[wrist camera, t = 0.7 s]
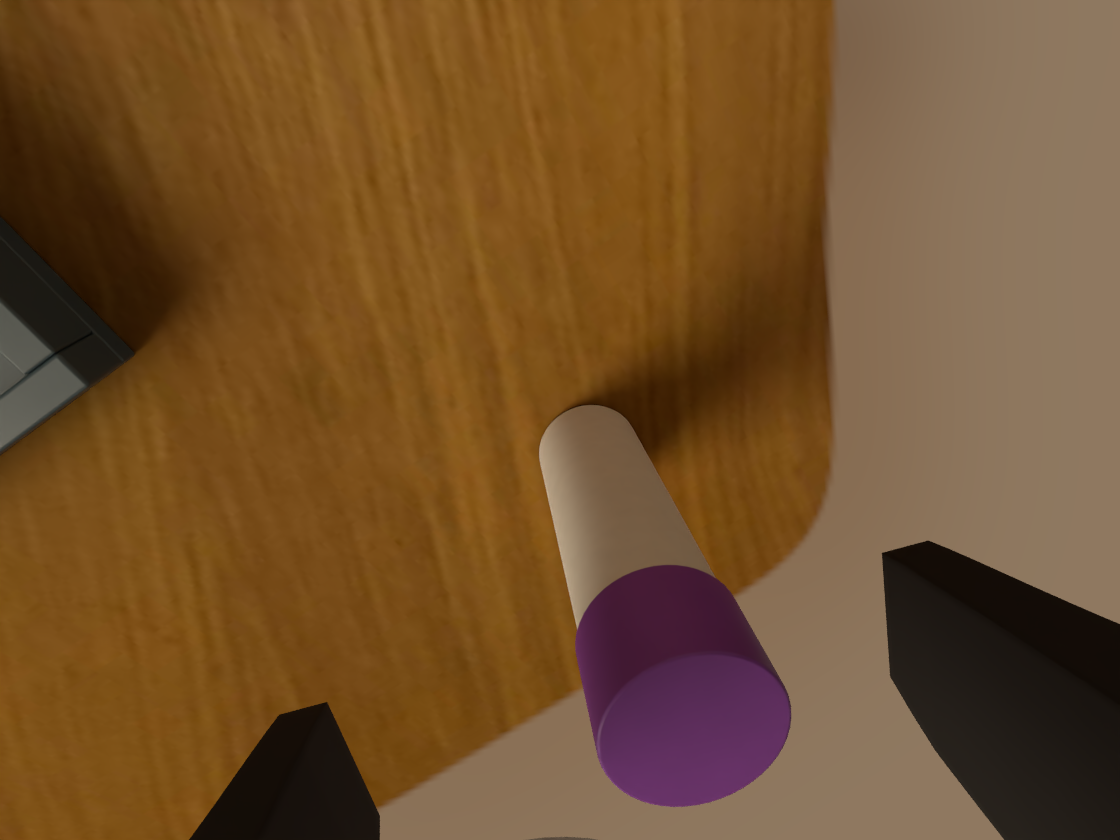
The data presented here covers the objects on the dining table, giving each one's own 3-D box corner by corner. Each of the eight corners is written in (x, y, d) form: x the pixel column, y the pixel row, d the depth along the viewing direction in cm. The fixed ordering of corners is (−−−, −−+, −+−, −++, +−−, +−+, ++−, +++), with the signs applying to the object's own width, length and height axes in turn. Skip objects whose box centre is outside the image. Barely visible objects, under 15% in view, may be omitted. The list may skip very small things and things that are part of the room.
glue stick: (649, 483, 18) (801, 778, 10) (548, 509, 18) (617, 829, 10) (630, 388, 17) (781, 629, 9) (523, 415, 17) (577, 683, 9)
